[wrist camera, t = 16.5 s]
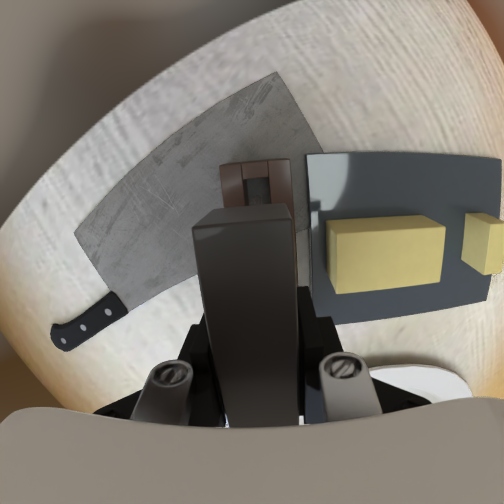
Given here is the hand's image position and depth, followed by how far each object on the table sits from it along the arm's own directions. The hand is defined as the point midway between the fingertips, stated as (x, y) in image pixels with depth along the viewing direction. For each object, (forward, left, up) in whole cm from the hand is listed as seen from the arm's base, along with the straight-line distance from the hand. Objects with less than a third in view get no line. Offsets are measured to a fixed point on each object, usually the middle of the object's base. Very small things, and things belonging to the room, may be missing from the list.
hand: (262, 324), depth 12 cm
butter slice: (+16, 0, -8) cm, 18 cm away
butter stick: (+7, 0, -8) cm, 11 cm away
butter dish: (+11, 0, -9) cm, 14 cm away
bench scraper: (0, 0, -4) cm, 5 cm away
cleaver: (-9, +1, -9) cm, 13 cm away
